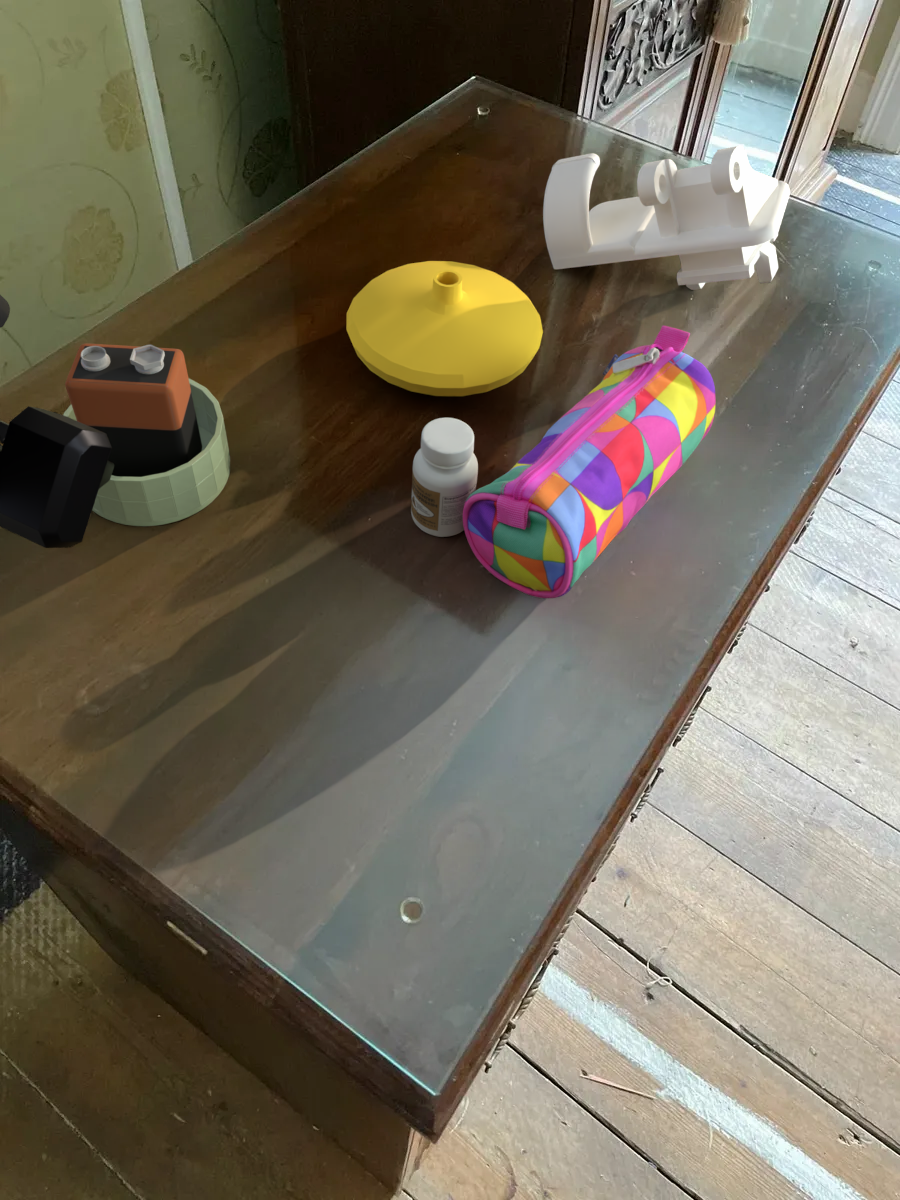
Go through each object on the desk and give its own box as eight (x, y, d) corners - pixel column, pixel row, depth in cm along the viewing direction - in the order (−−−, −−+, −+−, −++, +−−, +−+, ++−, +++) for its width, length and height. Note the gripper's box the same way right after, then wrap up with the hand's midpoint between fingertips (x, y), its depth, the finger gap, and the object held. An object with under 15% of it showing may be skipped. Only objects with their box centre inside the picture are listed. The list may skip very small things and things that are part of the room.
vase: (420, 272, 85) (423, 198, 79) (572, 343, 80) (587, 269, 75) (307, 362, 77) (301, 287, 71) (469, 447, 72) (477, 373, 66)
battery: (193, 490, 67) (168, 379, 59) (96, 485, 67) (57, 372, 59) (204, 447, 70) (181, 334, 62) (110, 442, 69) (75, 328, 61)
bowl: (85, 541, 64) (68, 495, 61) (68, 434, 70) (51, 386, 67) (244, 508, 67) (237, 462, 63) (214, 407, 73) (206, 360, 69)
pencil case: (601, 398, 76) (625, 302, 69) (708, 449, 73) (743, 355, 66) (447, 566, 65) (455, 472, 58) (565, 634, 62) (590, 544, 55)
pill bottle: (401, 502, 68) (403, 421, 62) (456, 486, 69) (463, 405, 63) (426, 546, 66) (430, 466, 60) (482, 528, 67) (493, 448, 61)
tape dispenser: (564, 328, 89) (522, 191, 82) (612, 269, 95) (577, 137, 88) (778, 312, 77) (752, 150, 70) (817, 246, 84) (798, 90, 76)
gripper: (29, 301, 39) (221, 367, 54) (-299, 170, 43) (-36, 265, 58) (-46, 554, 41) (160, 550, 56) (-353, 405, 45) (-85, 438, 60)
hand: (47, 444), depth 57 cm, fingers open, 9 cm apart
